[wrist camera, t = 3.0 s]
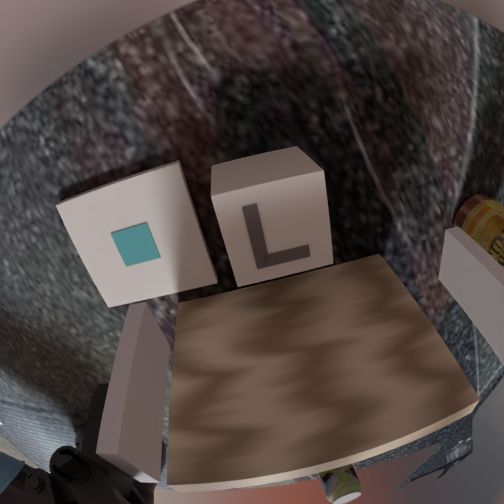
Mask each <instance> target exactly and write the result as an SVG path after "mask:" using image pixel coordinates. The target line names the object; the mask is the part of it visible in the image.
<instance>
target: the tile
mask: <svg viewBox="0 0 504 504" xmlns="http://www.w3.org/2000/svg"><path fill="white" fill-rule="evenodd" d="M56 207H57V209H58V211H59V214H60V216H61V218H62V220H63V222H64V224H65V227H66V229H67V231H68V233H69V235H70V237H71V239H72V241H73V243H74V245H75V247H76V249H77V251H78V253H79V255H80V257H81V259H82V261H83V263H84V265H85V267H86V268H87V270H88V272H89V274H90V276H91V278H92V279H93V281H94V283H95V285H96V287H97V288H98V290H99V292H100V294H101V295H102V297H103V299H104V300H105V302H106V304H107V306H108V307H113V306H118V305H122V304H127V303H132V302H136V301H141V300H145V299H150V298H154V297H159V296H163V295H168V294H172V293H176V292H181V291H185V290H190V289H194V288H198V287H203V286H207V285H211V284H216V283H218V278H217V274H216V271H215V268H214V266H213V263H212V260H211V257H210V254H209V251H208V248H207V245H206V242H205V239H204V236H203V233H202V230H201V227H200V224H199V220H198V217H197V214H196V211H195V208H194V205H193V202H192V199H191V196H190V192H189V189H188V186H187V183H186V180H185V176H184V173H183V170H182V167H181V163H180V160H178V161H175V162H171V163H168V164H165V165H162V166H158V167H155V168H152V169H149V170H146V171H142V172H139V173H136V174H133V175H130V176H127V177H124V178H121V179H119V180H116V181H113V182H110V183H107V184H104V185H102V186H99V187H96V188H93V189H91V190H88V191H85V192H83V193H80V194H78V195H75V196H73V197H70V198H67V199H65V200H63V201H60V202H59V203H58V204H57V205H56Z"/></svg>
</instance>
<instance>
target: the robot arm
mask: <svg viewBox="0 0 504 504" xmlns="http://www.w3.org/2000/svg"><path fill="white" fill-rule="evenodd" d="M438 279H439V280H440V281H441V282H442V284H443V285H444V286H445V287H446V288H447V290H448V291H449V292H450V293H451V295H452V296H453V297H454V298H455V300H456V301H457V302H458V303H459V305H460V306H461V307H462V308H463V310H464V311H465V312H466V314H467V315H468V316H469V318H470V319H471V320H472V322H473V323H474V324H475V326H476V327H477V328H478V330H479V331H480V332H481V334H482V335H483V336H484V338H485V339H486V341H487V342H488V343H489V345H490V346H491V348H492V349H493V351H494V352H495V354H496V355H497V356H498V358H499V359H500V361H501V362H502V364H503V365H504V268H503V267H502V266H501V265H500V264H499V263H498V262H497V261H496V260H495V259H494V258H493V257H492V256H491V255H490V254H488V253H487V252H486V251H485V250H484V249H483V248H482V247H481V246H480V245H479V244H478V243H476V242H475V241H474V240H473V239H472V238H471V237H470V236H469V235H467V234H466V233H465V232H464V231H463V230H462V229H461V228H459V227H458V226H457V227H454V228H450V229H446V230H445V239H444V246H443V253H442V260H441V266H440V272H439V278H438ZM169 352H170V345H169V343H168V341H167V340H166V338H165V336H164V334H163V333H162V331H161V329H160V327H159V326H158V324H157V322H156V320H155V318H154V317H153V315H152V313H151V311H150V309H149V307H148V306H147V304H146V302H144V303H139V304H134V305H130V306H129V309H128V312H127V316H126V319H125V323H124V327H123V330H122V334H121V338H120V341H119V345H118V349H117V353H116V357H115V361H114V365H113V369H112V374H111V378H110V382H109V383H107V384H99V386H98V388H97V389H96V391H95V392H94V394H93V396H92V400H91V405H90V410H89V413H88V420H87V422H86V424H85V425H82V426H80V427H79V428H78V429H77V433H76V438H75V446H76V448H74V447H71V446H62V447H60V448H58V449H57V450H56V451H55V452H54V453H53V455H52V457H51V459H50V465H49V467H50V472H51V473H50V474H49V473H48V472H46V471H44V470H42V469H40V468H37V469H35V468H33V467H31V466H29V465H27V464H25V462H24V461H20V460H17V459H16V458H14V457H11V456H9V455H7V454H5V453H3V452H1V451H0V504H154V489H155V487H156V484H157V483H160V475H161V472H162V470H163V467H164V465H165V462H166V448H165V446H164V445H163V444H162V434H163V419H164V405H165V393H166V382H167V372H168V362H169Z"/></svg>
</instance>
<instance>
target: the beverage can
mask: <svg viewBox="0 0 504 504" xmlns="http://www.w3.org/2000/svg"><path fill="white" fill-rule="evenodd" d="M318 475H319V478H320V481H321V484H322V486H323V489H324V492H325V494H326V497H327V500H329V501H330V502H332V503H333V504H345V503H347V502H350V501H352V500H354V499H356V498H357V497H359V496H360V494H361V492H360V490H361V484H360V481H359V479H358V477H357V475H356V473H355V470H354V468H353V466H352V464H348V465H345V466H342V467H338V468H335V469H331V470H327V471H323V472H320V473H318Z"/></svg>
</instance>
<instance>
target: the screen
mask: <svg viewBox="0 0 504 504" xmlns="http://www.w3.org/2000/svg"><path fill="white" fill-rule="evenodd" d="M479 400H480V399H479V397H478V396H477V394H476V392H475V390H474V389H473V387H472V385H471V384H470V382H469V381H468V379H467V377H466V376H465V374H464V372H463V371H462V369H461V368H460V366H459V364H458V363H457V361H456V360H455V358H454V357H453V355H452V354H451V352H450V351H449V349H448V347H447V346H446V344H445V343H444V341H443V340H442V338H441V337H440V336H439V334H438V333H437V331H436V330H435V328H434V327H433V325H432V324H431V322H430V321H429V320H428V318H427V317H426V315H425V314H424V312H423V311H422V310H421V308H420V307H419V306H418V304H417V303H416V301H415V300H414V299H413V297H412V296H411V295H410V293H409V292H408V291H407V289H406V288H405V287H404V285H403V284H402V283H401V281H400V280H399V279H398V277H397V276H396V275H395V273H394V272H393V271H392V269H391V268H390V267H389V266H388V264H387V263H386V262H385V261H384V259H383V258H382V257H381V256H380V254H376V255H372V256H368V257H365V258H361V259H357V260H353V261H350V262H346V263H342V264H338V265H334V266H331V267H327V268H323V269H319V270H315V271H311V272H307V273H303V274H299V275H295V276H291V277H287V278H283V279H279V280H275V281H271V282H267V283H263V284H259V285H254V286H250V287H246V288H242V289H238V290H233V291H229V292H225V293H220V294H216V295H212V296H207V297H203V298H198V299H194V300H189V301H185V302H180V303H178V312H177V322H176V332H175V342H174V354H173V366H172V379H171V394H170V411H169V432H168V464H167V485H168V486H169V487H171V488H173V489H174V490H176V491H178V492H192V491H193V492H194V491H210V490H222V489H231V488H240V487H248V486H255V485H261V484H267V483H273V482H279V481H284V480H289V479H294V478H298V477H303V476H307V475H311V474H316V473H320V472H323V471H327V470H331V469H335V468H338V467H342V466H345V465H348V464H352V463H355V462H358V461H361V460H364V459H367V458H370V457H373V456H376V455H378V454H381V453H384V452H387V451H389V450H392V449H395V448H397V447H400V446H402V445H405V444H407V443H409V442H412V441H414V440H416V439H419V438H421V437H423V436H425V435H428V434H430V433H432V432H434V431H436V430H438V429H440V428H442V427H444V426H446V425H448V424H450V423H452V422H454V421H456V420H458V419H460V418H462V417H464V416H466V415H467V414H469V413H471V412H472V411H473V409H474V408H475V406H476V405H477V403H478V402H479Z"/></svg>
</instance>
